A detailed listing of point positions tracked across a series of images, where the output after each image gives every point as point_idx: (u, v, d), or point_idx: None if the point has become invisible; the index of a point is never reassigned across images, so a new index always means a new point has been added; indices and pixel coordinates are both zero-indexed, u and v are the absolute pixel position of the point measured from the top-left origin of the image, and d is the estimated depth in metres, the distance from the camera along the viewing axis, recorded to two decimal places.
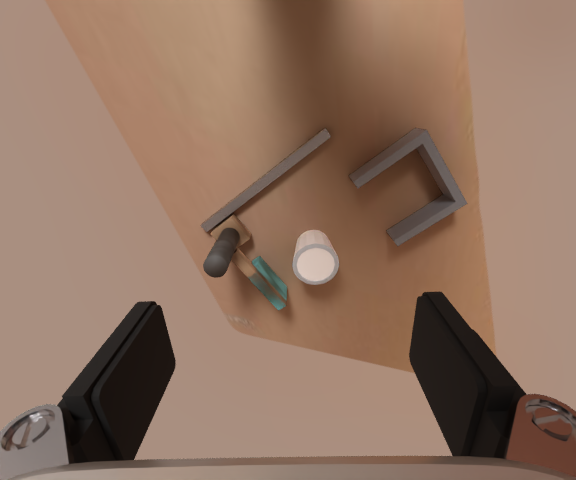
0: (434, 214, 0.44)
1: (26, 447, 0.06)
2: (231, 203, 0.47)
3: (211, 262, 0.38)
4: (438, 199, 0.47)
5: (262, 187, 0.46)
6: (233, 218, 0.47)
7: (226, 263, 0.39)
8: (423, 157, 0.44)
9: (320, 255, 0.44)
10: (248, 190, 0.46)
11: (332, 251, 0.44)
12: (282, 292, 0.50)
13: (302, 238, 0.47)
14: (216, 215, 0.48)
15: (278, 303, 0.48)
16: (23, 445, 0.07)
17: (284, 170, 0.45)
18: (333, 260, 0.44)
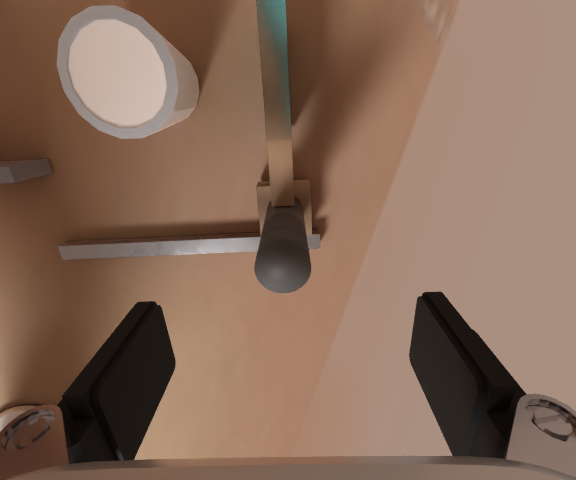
0: None
1: (26, 447, 0.06)
2: (250, 249, 0.28)
3: (281, 281, 0.16)
4: None
5: (190, 242, 0.28)
6: (260, 232, 0.26)
7: (256, 258, 0.16)
8: None
9: (97, 94, 0.18)
10: (213, 250, 0.28)
11: (65, 86, 0.18)
12: None
13: None
14: None
15: (270, 20, 0.17)
16: (23, 445, 0.07)
17: (145, 244, 0.28)
18: (70, 60, 0.17)
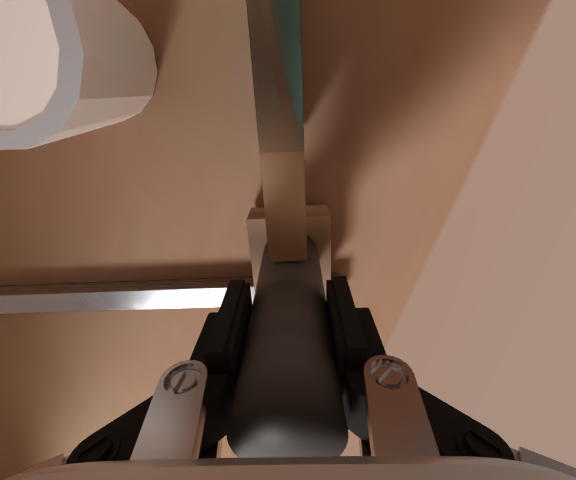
0: None
1: (176, 394, 0.07)
2: None
3: None
4: None
5: (153, 293, 0.19)
6: (254, 284, 0.18)
7: (231, 413, 0.08)
8: None
9: None
10: (187, 304, 0.19)
11: None
12: None
13: None
14: None
15: None
16: (177, 389, 0.08)
17: (89, 295, 0.19)
18: None
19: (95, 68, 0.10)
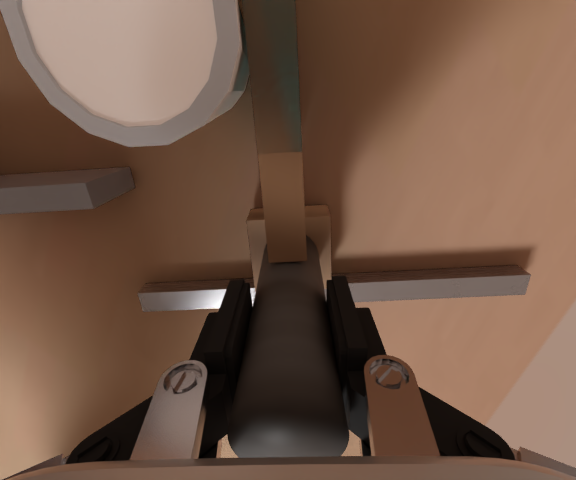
0: None
1: (176, 394, 0.07)
2: (420, 296, 0.19)
3: None
4: None
5: None
6: (255, 285, 0.18)
7: (232, 413, 0.08)
8: None
9: (83, 63, 0.09)
10: (365, 298, 0.19)
11: (20, 50, 0.09)
12: None
13: None
14: (474, 292, 0.19)
15: None
16: (177, 389, 0.08)
17: None
18: None
19: (238, 59, 0.10)
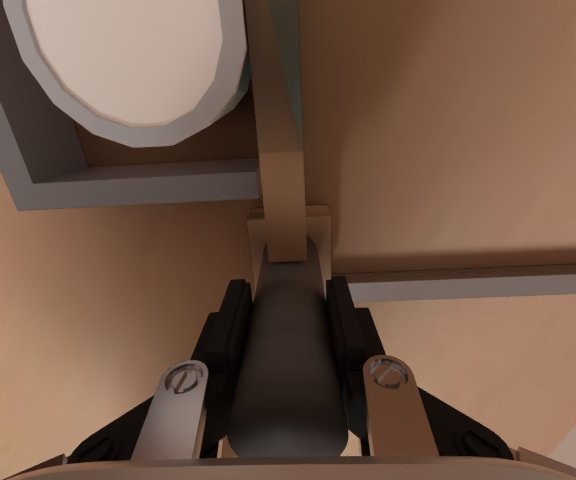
0: None
1: (177, 394, 0.07)
2: (545, 291, 0.19)
3: None
4: None
5: (458, 282, 0.18)
6: (254, 284, 0.18)
7: (231, 413, 0.08)
8: (59, 113, 0.15)
9: (87, 63, 0.09)
10: (488, 293, 0.19)
11: (24, 50, 0.09)
12: None
13: None
14: None
15: None
16: (178, 388, 0.08)
17: (388, 285, 0.19)
18: None
19: (243, 60, 0.10)
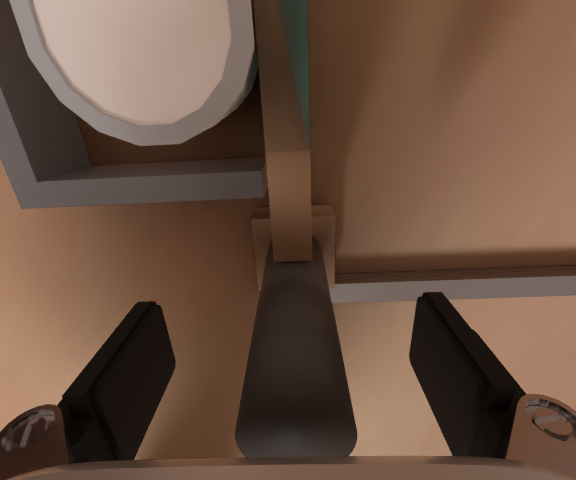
0: None
1: (26, 447, 0.06)
2: (549, 292, 0.19)
3: None
4: None
5: (462, 282, 0.18)
6: (258, 284, 0.18)
7: (239, 413, 0.08)
8: (63, 111, 0.15)
9: (94, 60, 0.09)
10: (492, 294, 0.19)
11: (31, 47, 0.09)
12: None
13: None
14: None
15: None
16: (23, 445, 0.07)
17: (392, 285, 0.19)
18: None
19: (251, 58, 0.10)
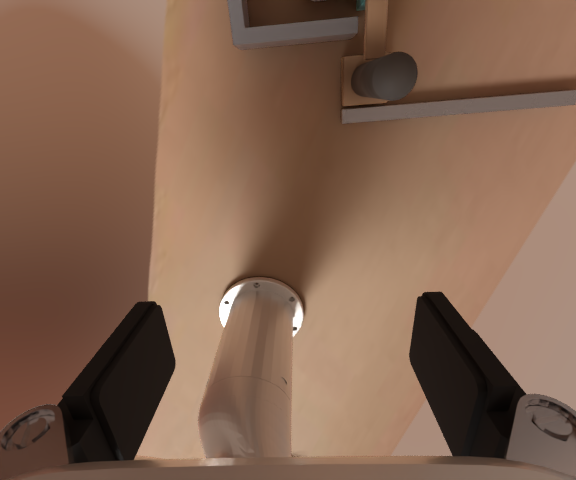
0: None
1: (26, 447, 0.06)
2: (511, 107, 0.32)
3: (393, 89, 0.22)
4: None
5: (460, 102, 0.32)
6: (343, 102, 0.31)
7: (374, 70, 0.21)
8: None
9: None
10: (478, 110, 0.32)
11: None
12: None
13: None
14: (544, 103, 0.32)
15: None
16: (23, 445, 0.07)
17: (419, 105, 0.32)
18: None
19: None
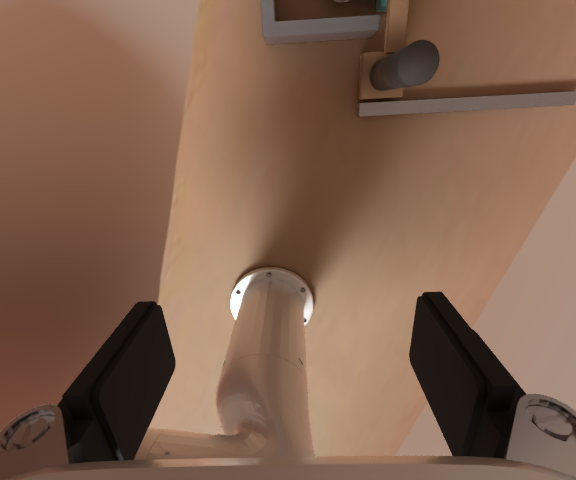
0: None
1: (26, 447, 0.06)
2: (516, 105, 0.34)
3: (416, 74, 0.24)
4: None
5: (469, 99, 0.34)
6: (361, 95, 0.33)
7: (400, 56, 0.23)
8: None
9: None
10: (485, 107, 0.35)
11: None
12: None
13: None
14: (546, 103, 0.34)
15: None
16: (23, 445, 0.07)
17: (431, 101, 0.34)
18: None
19: None
